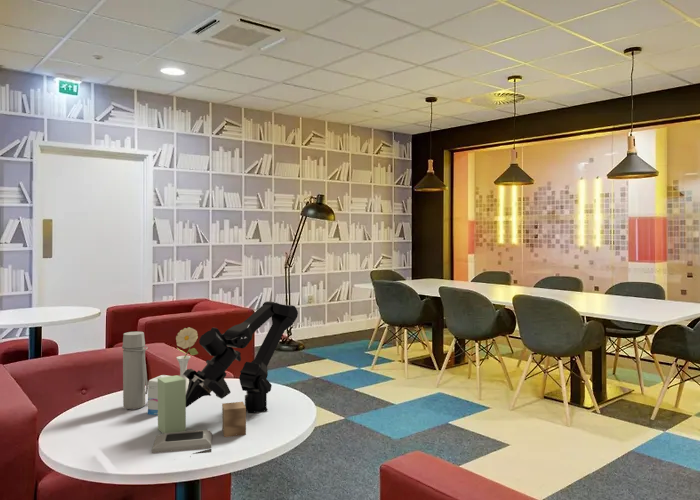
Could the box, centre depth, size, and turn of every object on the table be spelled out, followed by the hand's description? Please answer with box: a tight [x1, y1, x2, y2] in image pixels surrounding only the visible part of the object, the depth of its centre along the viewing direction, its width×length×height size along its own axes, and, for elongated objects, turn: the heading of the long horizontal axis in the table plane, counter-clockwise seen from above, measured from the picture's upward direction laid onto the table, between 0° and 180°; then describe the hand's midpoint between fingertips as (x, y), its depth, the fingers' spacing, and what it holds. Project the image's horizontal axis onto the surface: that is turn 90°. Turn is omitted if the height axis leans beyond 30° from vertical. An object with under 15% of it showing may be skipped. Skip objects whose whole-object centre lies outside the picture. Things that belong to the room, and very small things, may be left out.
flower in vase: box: [175, 326, 199, 393], centre depth 195 cm, size 13×11×25 cm
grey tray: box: [151, 429, 213, 455], centre depth 148 cm, size 10×4×15 cm
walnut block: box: [221, 401, 247, 438], centre depth 156 cm, size 6×6×9 cm
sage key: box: [157, 374, 187, 434], centre depth 158 cm, size 6×6×15 cm
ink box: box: [147, 374, 171, 416], centre depth 175 cm, size 9×5×12 cm, turn 168°
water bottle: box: [121, 331, 149, 410], centre depth 182 cm, size 9×8×25 cm
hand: (184, 406), depth 160 cm, fingers closed
